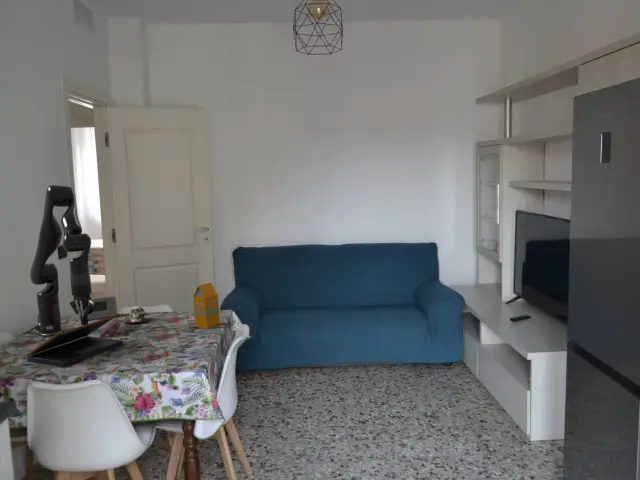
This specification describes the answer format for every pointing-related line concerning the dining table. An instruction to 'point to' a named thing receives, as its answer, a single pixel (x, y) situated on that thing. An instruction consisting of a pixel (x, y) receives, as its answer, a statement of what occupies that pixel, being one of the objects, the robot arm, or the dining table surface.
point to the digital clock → (103, 307)
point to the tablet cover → (70, 335)
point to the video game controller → (110, 329)
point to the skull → (137, 315)
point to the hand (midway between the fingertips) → (84, 324)
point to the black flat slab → (74, 351)
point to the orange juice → (206, 306)
